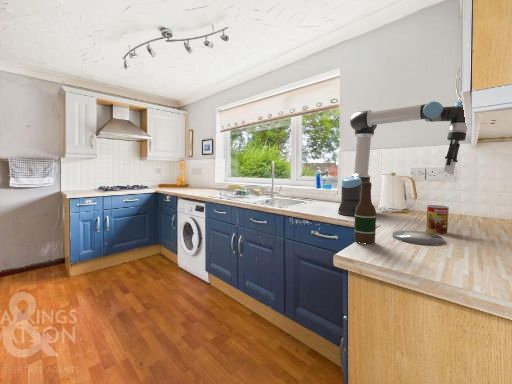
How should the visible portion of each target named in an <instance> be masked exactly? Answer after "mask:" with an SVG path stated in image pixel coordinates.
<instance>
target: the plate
mask: <svg viewBox="0 0 512 384" xmlns="http://www.w3.org/2000/svg"><path fill="white" fill-rule="evenodd" d="M392 238H393V239H395V238H396V240H397V239H398V240H399V241H400V240H401V242H404V243H409V244H413V243H414V244H415V245H422V246H423V245H424V246H435V245H434V244H439V245H442V243H443V244H444V242H445V240H444V239H445V238H444V237H442V236H441V235H439V234H433V233H429V232H425V231H419V230H406V229H405V230H402V229H401V230H395V231H393V232H392Z"/></svg>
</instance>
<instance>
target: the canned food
mask: <svg viewBox="0 0 512 384" xmlns="http://www.w3.org/2000/svg"><path fill="white" fill-rule="evenodd" d="M449 208H450V207H449V206H445V205H439V204H437V205H436V204H428V205H427V207H426V223H425V224H426V225H425V231H426V233H431V234H435V235H447V234H448V224H449V212H450V211H449Z"/></svg>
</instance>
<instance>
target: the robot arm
mask: <svg viewBox="0 0 512 384" xmlns="http://www.w3.org/2000/svg"><path fill="white" fill-rule="evenodd" d="M462 101H463V100H460V101H456V102H455V103H454V104H453V106H443V105H442V104H441V103H440V102H439V101H430V102H428V103H425V104H418V105H417V104H416V105H410V106H404V107H397V108H396V107H395V108H390V109H382V110H375V111H372V110H371V109H369V110H361V111H356V112H355V113H353V114H352V115H351V117H350V120H349V124H350V127H351V128H352V129H353V130H354V136H355V137H356V144H355V145H356V146H355V159H354V171H353V172H354V173H353V174H351V176H350V177H344V178H343V179H342V180H341V183H340V185H341V193H340V194H341V198H340V205H339V206H338V210H337V213H339V214H338V215H341V214H342V215H341V216H346V215H349V217H355V209H356V207H357V205H358V204H359V203H360V199H361V190H362V185H361V183H362V182H371V176H370V175H369V165H370V164H369V163H370V156H371V155H370V153H371V143H372V137H374V135H375V130H376V129H377V126H378V125H383V124H392V123H393V124H394V123H400V122H411V121H418V120H424V121H425V122H432V123H433V122H434V123H435V122H450V124H449V127H448V133H447V136H446V137H447V138H446V139H447V140H448V141H450V143H449V147H448V149H447V153H446V156H444V159H446V160H445V164H444V169H443V172H445V173H446V174H450V175H454V172H455V169H456V163H458V162H459V160H458V154H459V150H460V147H461V144H460V142H464V141H466V137H467V132H468V128H467V126H466V123H465V117H464V110H463V105H462ZM372 185H373V184H372ZM372 185H371V189H372Z"/></svg>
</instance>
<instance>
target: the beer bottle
mask: <svg viewBox="0 0 512 384" xmlns="http://www.w3.org/2000/svg"><path fill="white" fill-rule="evenodd" d="M361 185H362V190H361V199H360V203H359V204H358V205H357V207H356V209H355V216H354V221H353V222H354V226H353V227H354V229H353V240H354V242H355V243H356V242H360V243H366V244H371V245H373V244H372V243H374V244H375V243H376V225H377V211H376V207H375V206H374V204H373V202H372V188H371V185H373V184H372V182H371V181H370V182H362V183H361Z"/></svg>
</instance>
